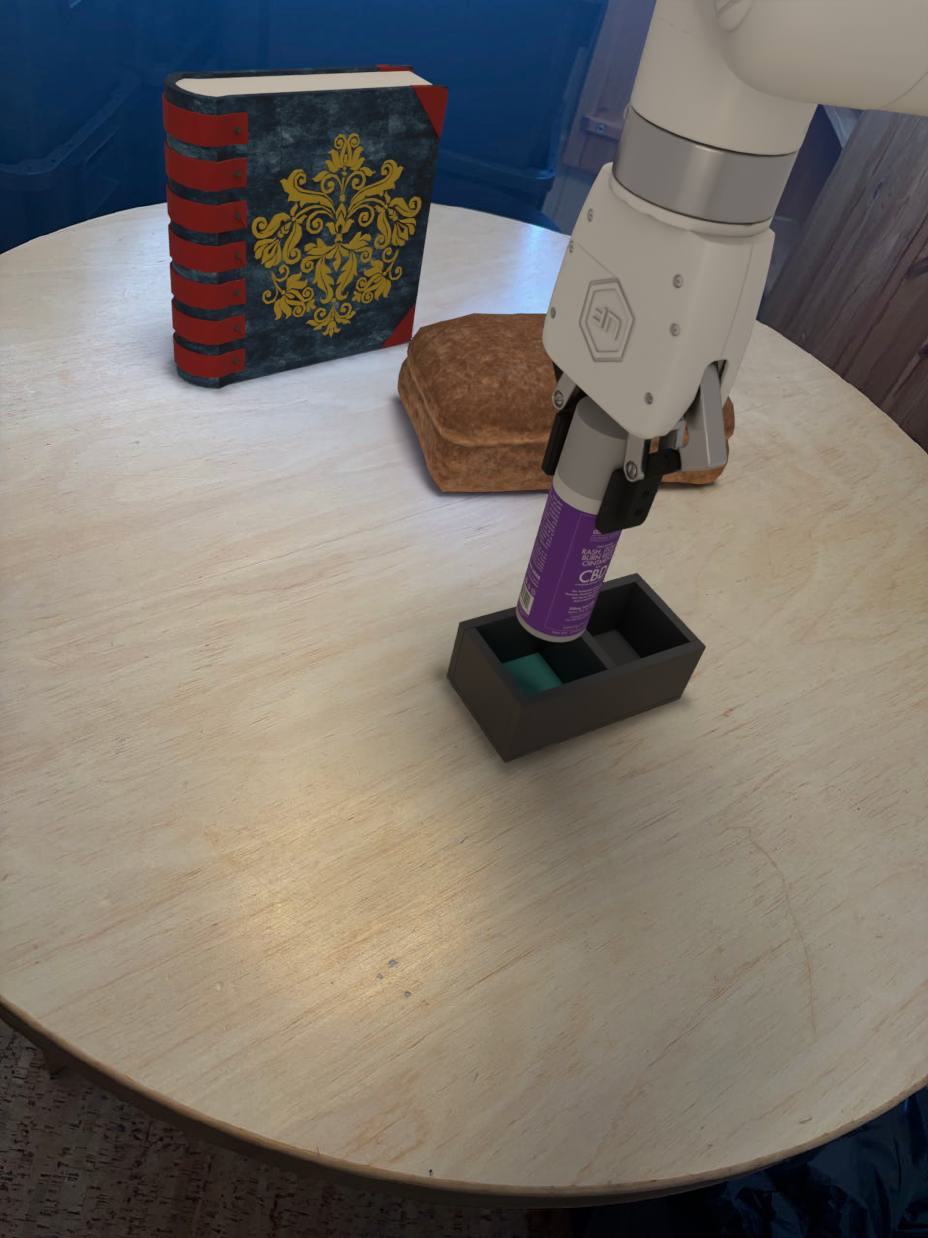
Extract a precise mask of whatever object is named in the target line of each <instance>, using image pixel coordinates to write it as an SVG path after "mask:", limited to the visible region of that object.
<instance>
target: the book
mask: <svg viewBox="0 0 928 1238" xmlns="http://www.w3.org/2000/svg"><path fill="white" fill-rule="evenodd" d="M413 70H414V66H413V65H411V64H410V63H409V64H408V63H407V64H375V65H356V66H355V65H354V66H330V67H329V66H325V67H321V66H320V67H297V68H296V67H295V68H292V67H291V68H265V69H239V70H212V71H211V70H209V71H208V70H207V71H181V70H180V71H178V70H177V71H174V72H171V73H169V74H167V75H166V76H165V78H164V92H163V93H162V94H161V96H162V97H161V99H162V100H161V101H162V118H163V119H162V120H163V129H164V131H165V132H166V138H165V139H164V140H163V144H164V146H163V147H164V164H165V173H166V175H167V177H168V181H167V182H166V183H165V189H166V191H165V192H166V208H167V216H168V218H169V219H170V220H169V221H170V222H169V223H168V224H167V232H168V236H167V237H168V253H169V257H170V258H171V261H170V262H169V276H170V277H169V278H170V294H172V298H171V299H170V303H171V304H170V305H171V321H172V329H173V330H174V332H173V333H172V347H173V348H172V349H173V362H174V364H176V366H175V367H176V371H177V374H178V376H179V377H180V378H181V379H182V380H183V381H185V382H187V383H189V384H191V385H193V386H197V387H200V388H201V387H203V388H208V389H221V388H223V387H225V386H228V385H230V384H235V383H239V382H243V381H248V380H252V379H257V378H260V377H264V376H270V375H274V374H277V373H281V372H286V371H291V370H294V369H299V368H302V367H307V366H312V365H315V364H319V363H325V362H329V361H332V360H333V361H334V360H337V359H341V358H345V357H350V356H354V355H358V354H362V353H367V352H371V351H375V350H381V349H386V348H389V347H390V348H391V347H394V346H395V347H396V346H399V345H400V346H401V345H403V344H406V343H409V342H410V341H411V340H412V338H413V331H414V323H415V315H416V309H417V301H418V294H419V288H420V287H419V286H420V280H421V274H422V273H421V272H422V266H423V261H424V260H423V259H424V252H425V246H426V239H427V233H428V232H427V231H428V225H429V218H430V212H431V204H432V198H433V193H434V185H435V177H436V170H437V164H438V157H439V151H440V142H441V136H442V131H443V126H444V121H445V115H446V110H447V104H448V103H447V102H448V99H449V92H448V87H449V86H448V85H446V84H445V83H436V84H433V83H431V82H429V81H427V80H426V79H424V78H422V77H421V76H419V75H417V74H415V73H414V71H413Z"/></svg>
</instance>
